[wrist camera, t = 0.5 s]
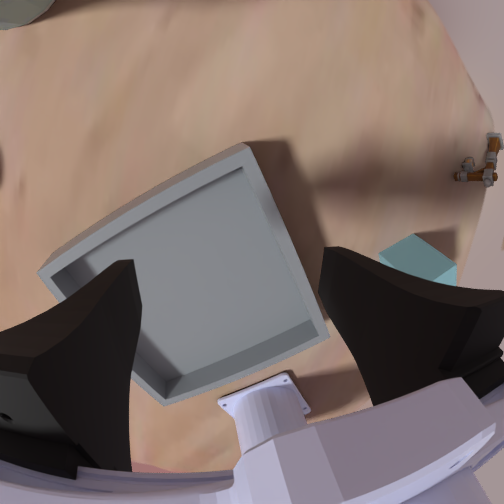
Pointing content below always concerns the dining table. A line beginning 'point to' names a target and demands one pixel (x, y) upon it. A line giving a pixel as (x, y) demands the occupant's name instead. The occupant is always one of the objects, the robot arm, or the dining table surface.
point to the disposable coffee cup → (21, 12)
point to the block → (420, 260)
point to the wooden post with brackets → (491, 160)
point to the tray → (201, 277)
